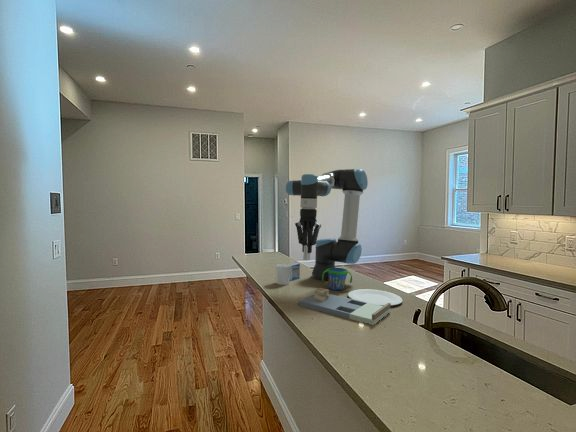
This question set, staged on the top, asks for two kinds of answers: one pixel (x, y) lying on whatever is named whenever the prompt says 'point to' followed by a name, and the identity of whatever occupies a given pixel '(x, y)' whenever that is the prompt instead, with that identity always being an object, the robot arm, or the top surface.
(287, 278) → the white cup
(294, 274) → the medicine box
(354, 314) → the board
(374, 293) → the plate
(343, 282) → the snack cup
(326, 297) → the maple block
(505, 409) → the top surface
